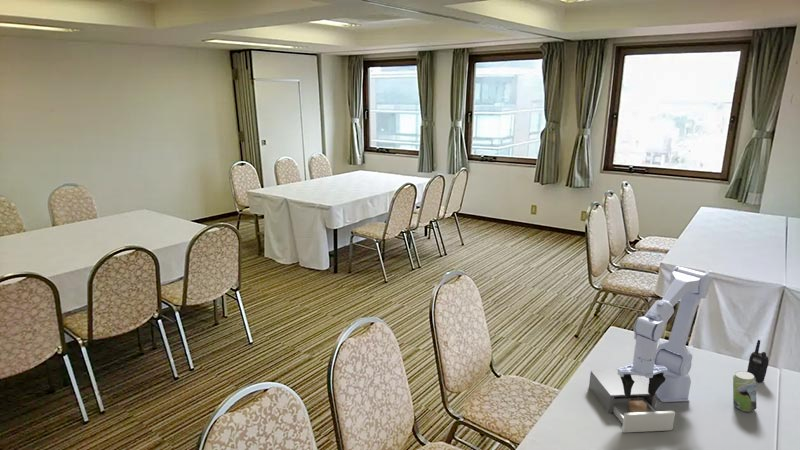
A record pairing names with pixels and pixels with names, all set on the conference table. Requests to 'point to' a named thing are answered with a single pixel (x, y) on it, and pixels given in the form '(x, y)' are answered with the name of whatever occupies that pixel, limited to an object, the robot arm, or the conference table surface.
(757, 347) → the two-way radio
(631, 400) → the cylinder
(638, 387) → the housing
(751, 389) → the beverage can
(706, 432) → the conference table surface
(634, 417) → the tray
